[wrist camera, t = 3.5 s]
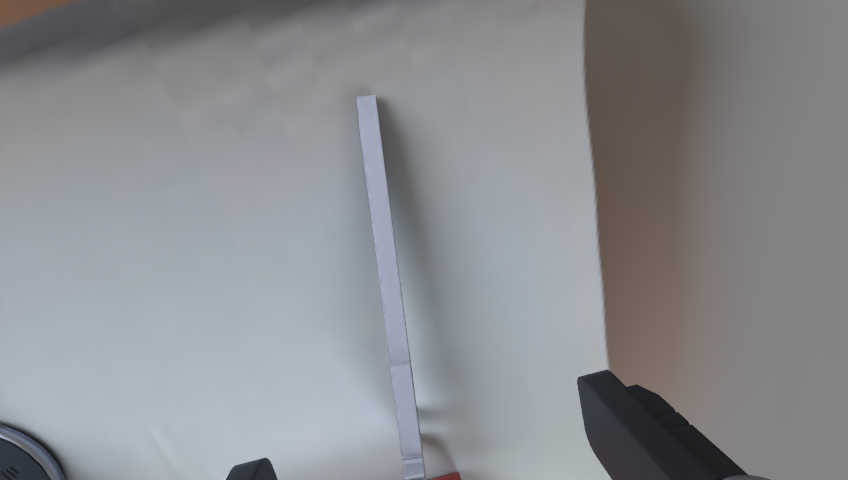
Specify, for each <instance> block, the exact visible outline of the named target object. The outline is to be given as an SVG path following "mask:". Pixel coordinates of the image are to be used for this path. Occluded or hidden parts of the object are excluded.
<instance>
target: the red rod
mask: <svg viewBox="0 0 848 480" xmlns="http://www.w3.org/2000/svg"><path fill="white" fill-rule="evenodd" d="M429 480H461V478H460V474H459V472H455V473H452V474H448V475H444V476H441V477H437V478H433V479H429Z"/></svg>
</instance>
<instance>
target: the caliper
mask: <svg viewBox="0 0 848 480" xmlns="http://www.w3.org/2000/svg"><path fill="white" fill-rule="evenodd" d="M356 100H357V109H358V117H359V119H358V122H359V130H360V137H361V145H362V152H363V160H364V168H365V175H366V183H367V190H368V198H369V206H370V213H371V221H372V228H373V236H374V244H375V251H376V259H377V266H378V274H379V282H380V289H381V297H382V304H383V312H384V319H385V327H386V335H387V342H388V350H389V357H390V370H391V377H392V385H393V393H394V400H395V408H396V416H397V423H398V431H399V439H400V446H401V454H402V456H403V480H426V477H425V467H424V457H423V448H422V439H421V433H420V428H419V418H418V409H417V407H416V400H415V391H414V383H413V376H412V368H411V360H410V352H409V347H408V339H407V332H406V324H405V316H404V309H403V301H402V293H401V286H400V278H399V270H398V263H397V255H396V247H395V240H394V232H393V224H392V217H391V209H390V201H389V194H388V186H387V178H386V171H385V163H384V155H383V148H382V140H381V132H380V125H379V118H378V111H377V103H376V96H375V95H370V96H361V97H356Z"/></svg>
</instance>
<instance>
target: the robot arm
mask: <svg viewBox="0 0 848 480" xmlns="http://www.w3.org/2000/svg"><path fill="white" fill-rule="evenodd" d="M577 384H578V390H579V396H580V402H581V408H582V414H583V420H584V426H585V431H586V435H587V438H588V440H589V443H590V445H591V447H592V450H593V452H594V453H595V455H596V457H597V458H598V460H599V461H600V462H601V464H602V465H603V467H604V468H605V470H606V471H607V473H608V474H609V476H610V477H611V479H612V480H770V479H766V478H762V477H758V476H752V475H748V474H747V473H745V472H744V471H743V470H742V469H741V468H740V467H739V466H738V465H736V464H735V463H734V462H733V461H732V460H731V459H730V458H729V457H728V456H726V455H725V454H724V453H723V452H722V451H721V450H720V449H719V448H717V447H716V446H715V445H714V444H713V443H712V442H711V441H710V440H708V439H707V438H706V437H705V436H704V435H703V434H702V433H701V432H699V431H698V430H697V429H696V428H695V427H694V426H693V425H690V424H689V422H688V421H687V420H686V419H685V418H684V417H683V416H682V415H680V414H679V413H678V412H675V410H674V408H673V407H671V406H670V405H669V404H668V403H667V402H666V401H665V400H664V399H662V398H661V397H660V396H659V395H658V394H656V393H654V392H651V391H649V390H647V389H645V388H643V387H641V386H638V385H633V386H629V387H626V386H625V385H624V384H623V383H622V382H621V381H620V380H619V379H617V377H616V376H615V375H613V373H611V372H610V371H609V370H604V371H600V372H596V373H592V374H588V375H585V376H581V377H578V380H577ZM0 480H65V477H64V475H63V473H62V471H61V469H60V467H59V465H58V464H57V462H56V461H55V460H54V458H53V457H52V456H51V455H50V454H49V453H48V452H47V451H46V450H45V449H44V448H43V447H42V446H41V445H39V444H38V443H37V442H36V441H34V440H33V439H31V438H30V437H28V436H26V435H25V434H23V433H21V432H19V431H17V430H14V429H12V428H9V427H7V426H4V425H0ZM226 480H277V477H276V474H275V472H274V469H273V466H272V464H271V462H270V460H269V459H267V458H263V459H259V460H255V461H251V462H247V463H243V464H240V465H236V466H234V467H233V468H232V470H231V471H230V473H229V475H228V477H227V479H226Z"/></svg>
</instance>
